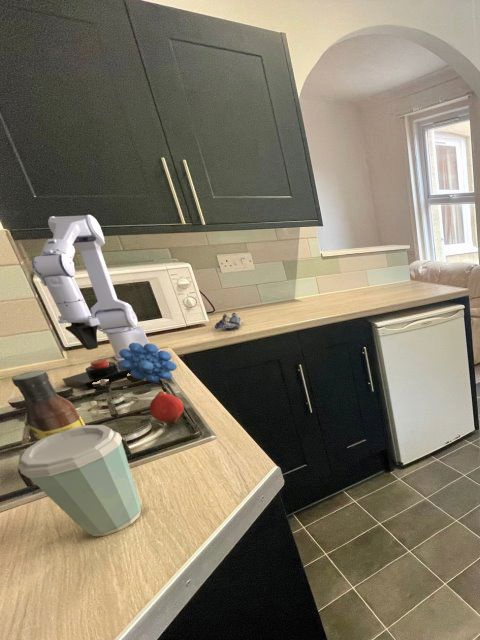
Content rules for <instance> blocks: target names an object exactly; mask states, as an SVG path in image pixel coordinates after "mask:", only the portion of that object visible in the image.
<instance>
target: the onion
mask: <svg viewBox="0 0 480 640" xmlns="http://www.w3.org/2000/svg"><path fill="white" fill-rule="evenodd" d="M149 404H150V405H149V411H150V415H151V416H152V417H153V419H155V420H157V421H161V422H164V423H170V424H174V423H176V422H177V421H178V420H179V418H180V417H181V416H182V415H183V413H184V410H185V407H184V402H183V401H182V400H181V398H179V397H177V396H175V395H173V394H170V393H166V392H165V391H163V390H159V391H158V393H157V394H156V396H155V397H154V398H153V399H152V400H151V402H150V403H149Z"/></svg>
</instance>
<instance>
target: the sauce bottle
mask: <svg viewBox="0 0 480 640" xmlns="http://www.w3.org/2000/svg"><path fill="white" fill-rule="evenodd" d="M11 381H12V384H13V385H14V386H15V387H16V388H18V390H19V391H20V394H21V395H22V396H23V399H24V402H25V412H26V424H27V425H28V427H29V429H30V430H31V432H32V433H33V435H34V436H35V438H36V440H37V442H38V441H39V440H41V439H43V438H46V437H48V436H51V435H53V434H56V433H59V432H62V431H65V430H68V429H72V428H76V427H80V426H84V425H86V424H85V421H84V420H83V418H82V417H81V415H80V414H79V413H78V411H77V409H76V407H75V405H74V403H72V402H71V401H70V400H68V399H67V398H65V397H62V395H61V396H60V395H59V394H58V393H57V390H56V389H55V388H54V387H53V385H52V383H51V381H50V377H49V374H48V373H47V371H46V370H43V369H36V370H35V369H34V370H30V371H25V372H22V373H19V374H16V375H14V376H12V377H11Z"/></svg>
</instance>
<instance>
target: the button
mask: <svg viewBox="0 0 480 640" xmlns="http://www.w3.org/2000/svg"><path fill="white" fill-rule="evenodd" d="M108 362H109V361H108V359H97V360H94V361H91V362H90V366H92V368H93V369H97V368H102V367H106V366H108V365H109V363H108Z"/></svg>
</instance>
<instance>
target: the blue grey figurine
mask: <svg viewBox="0 0 480 640" xmlns="http://www.w3.org/2000/svg"><path fill="white" fill-rule="evenodd" d="M221 318H222V319H219V321H218V322H216V323H215V325H214V328H215V330H218V329H224V330H225V329H226V331H233V330H238V329H240V325H241V324H243V322H242V317H241V316H240V314H238V313H236V312H233V313H231V316H230V315H228V314H227V313H224V314H223V315H222V317H221Z"/></svg>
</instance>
